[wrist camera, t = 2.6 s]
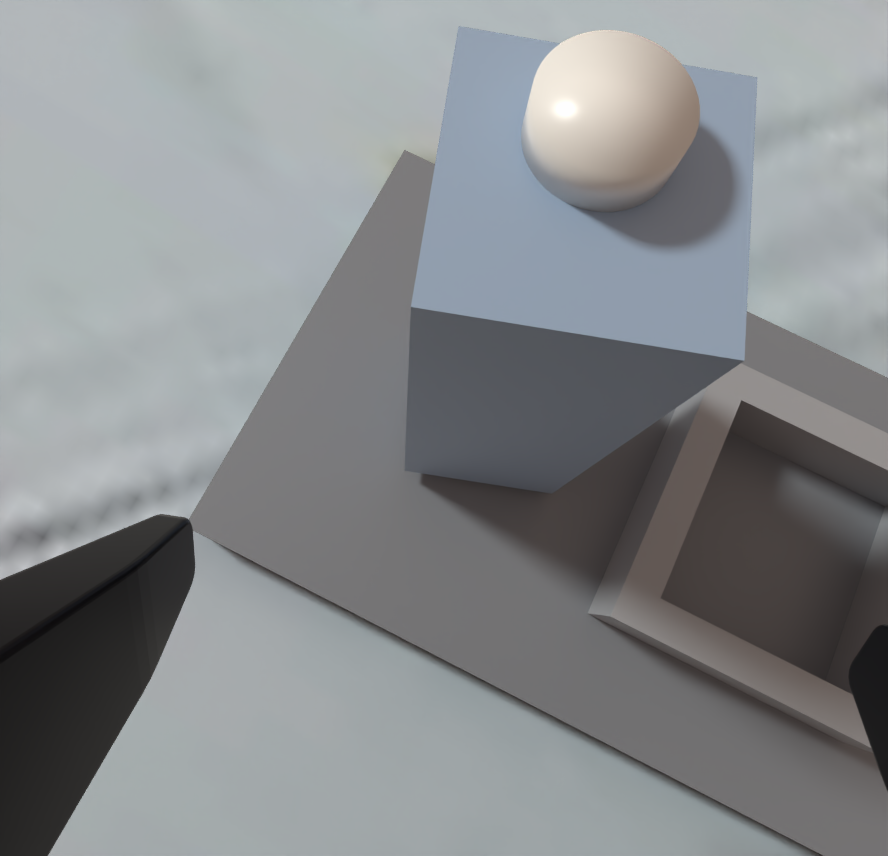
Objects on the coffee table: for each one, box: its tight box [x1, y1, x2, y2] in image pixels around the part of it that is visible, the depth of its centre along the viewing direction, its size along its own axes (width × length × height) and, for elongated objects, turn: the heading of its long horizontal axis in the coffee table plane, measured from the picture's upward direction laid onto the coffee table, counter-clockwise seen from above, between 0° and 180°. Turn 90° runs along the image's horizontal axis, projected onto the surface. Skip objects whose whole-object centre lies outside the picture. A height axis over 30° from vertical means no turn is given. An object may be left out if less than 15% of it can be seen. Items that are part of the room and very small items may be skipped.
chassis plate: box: [189, 150, 888, 856], centre depth 21 cm, size 22×14×4 cm, turn 64°
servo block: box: [404, 26, 757, 494], centre depth 15 cm, size 4×4×13 cm
